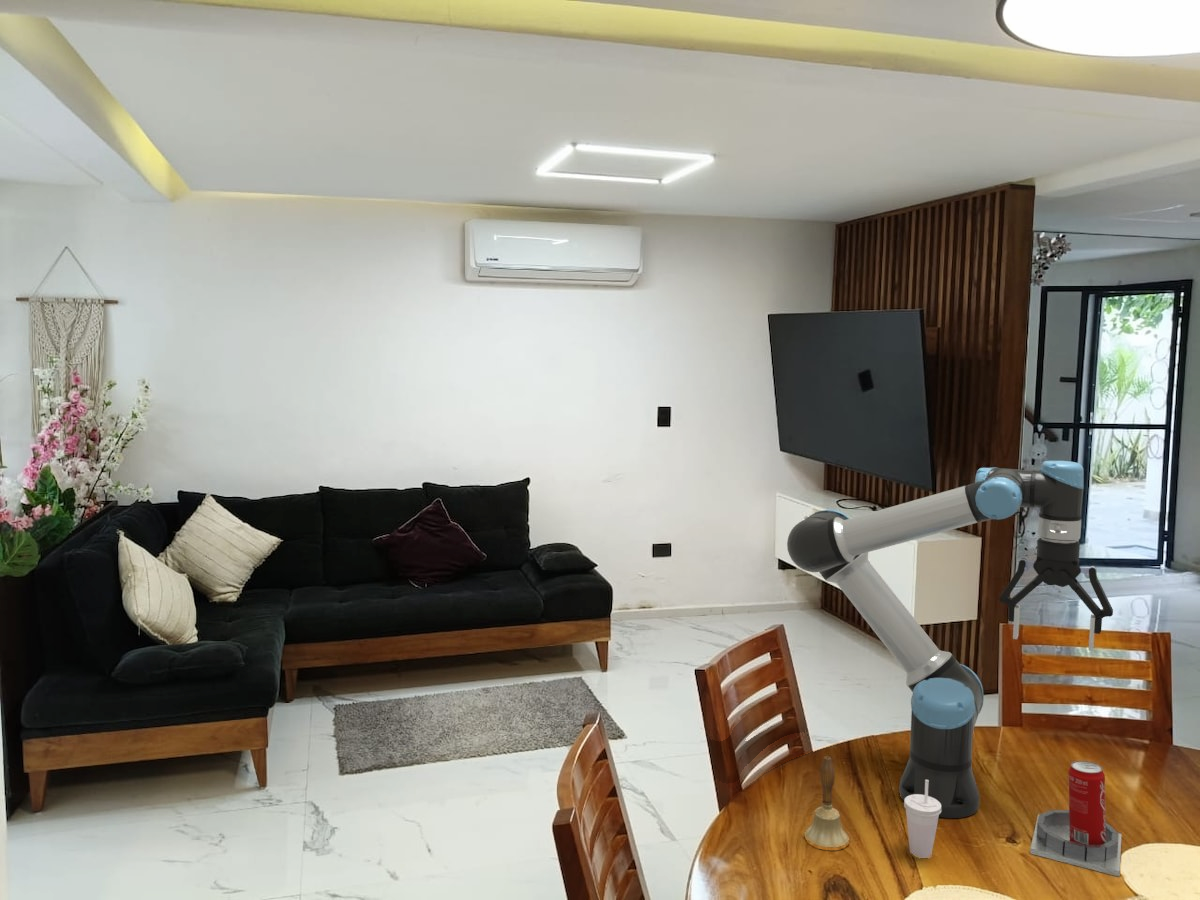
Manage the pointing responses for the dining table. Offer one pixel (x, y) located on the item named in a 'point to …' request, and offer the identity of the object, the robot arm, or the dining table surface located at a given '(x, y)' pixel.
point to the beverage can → (1087, 803)
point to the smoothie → (922, 822)
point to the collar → (1074, 844)
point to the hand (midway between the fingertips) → (1052, 643)
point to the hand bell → (827, 814)
